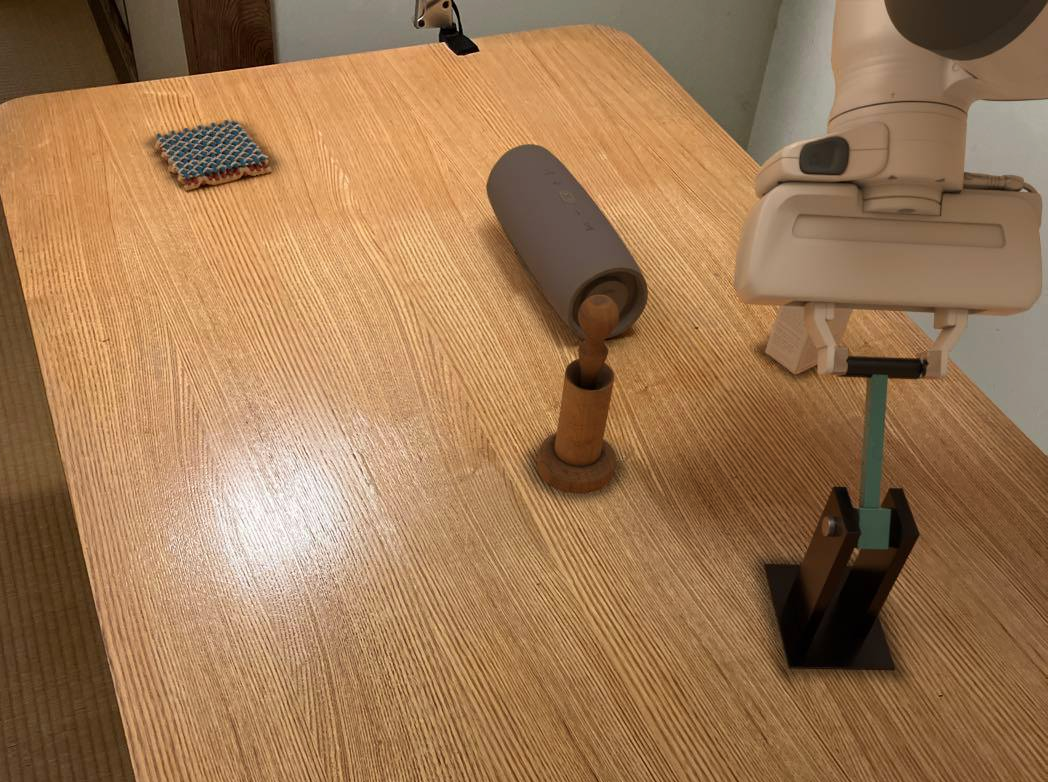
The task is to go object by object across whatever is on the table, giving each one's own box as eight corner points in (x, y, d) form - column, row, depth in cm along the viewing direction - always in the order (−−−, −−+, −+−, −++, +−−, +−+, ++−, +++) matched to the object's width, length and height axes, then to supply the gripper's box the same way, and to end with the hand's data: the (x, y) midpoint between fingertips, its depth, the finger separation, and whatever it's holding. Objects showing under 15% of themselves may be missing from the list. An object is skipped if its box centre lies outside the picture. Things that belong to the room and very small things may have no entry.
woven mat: (184, 195, 117) (181, 178, 116) (153, 150, 123) (150, 133, 122) (274, 175, 121) (273, 158, 120) (240, 132, 127) (238, 115, 126)
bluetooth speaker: (645, 343, 105) (662, 254, 98) (557, 359, 102) (567, 269, 95) (559, 219, 119) (568, 133, 111) (479, 230, 116) (483, 144, 109)
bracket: (760, 573, 86) (803, 457, 76) (858, 575, 86) (912, 460, 77) (784, 676, 79) (834, 564, 70) (890, 678, 80) (954, 566, 70)
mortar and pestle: (572, 513, 89) (599, 338, 76) (520, 470, 92) (537, 294, 79) (628, 479, 92) (663, 305, 79) (576, 438, 95) (601, 263, 82)
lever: (833, 356, 75) (845, 354, 72) (910, 359, 75) (925, 357, 72) (821, 544, 76) (833, 548, 73) (897, 546, 76) (912, 550, 74)
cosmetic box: (802, 339, 107) (837, 232, 98) (836, 364, 105) (875, 256, 96) (759, 360, 104) (791, 252, 95) (793, 386, 102) (829, 278, 93)
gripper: (1018, 188, 76) (1004, 386, 77) (732, 173, 74) (722, 374, 75) (1070, 164, 69) (1055, 379, 70) (759, 146, 68) (748, 366, 69)
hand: (880, 377), depth 73 cm, fingers closed on lever, 5 cm apart
